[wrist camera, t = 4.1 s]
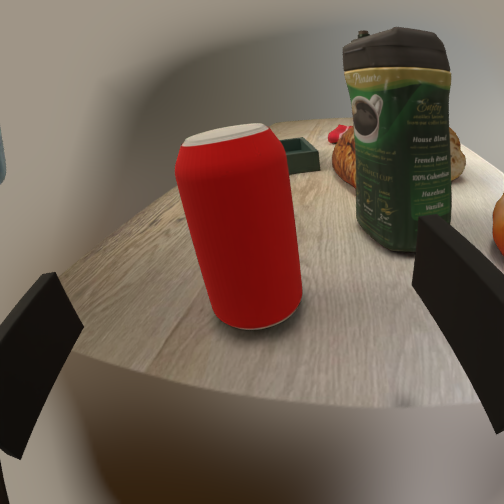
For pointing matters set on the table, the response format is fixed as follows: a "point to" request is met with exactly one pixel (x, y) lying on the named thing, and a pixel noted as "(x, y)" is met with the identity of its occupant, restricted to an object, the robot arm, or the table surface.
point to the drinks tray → (300, 155)
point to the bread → (347, 163)
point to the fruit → (499, 224)
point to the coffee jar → (400, 132)
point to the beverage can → (242, 223)
